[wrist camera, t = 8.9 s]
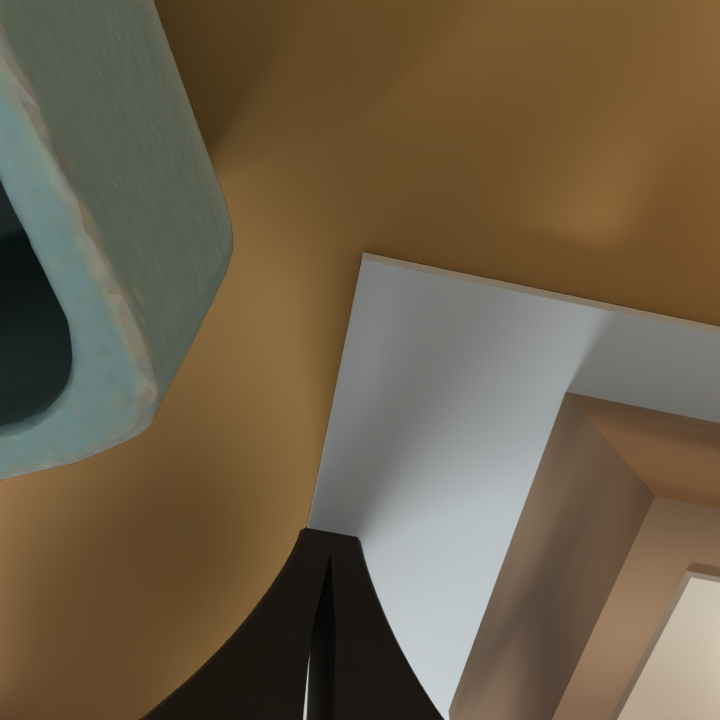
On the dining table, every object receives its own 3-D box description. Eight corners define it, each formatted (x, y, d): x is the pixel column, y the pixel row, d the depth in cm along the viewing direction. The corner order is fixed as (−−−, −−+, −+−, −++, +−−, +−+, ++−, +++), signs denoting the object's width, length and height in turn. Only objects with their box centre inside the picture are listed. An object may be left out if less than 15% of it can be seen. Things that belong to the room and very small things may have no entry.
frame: (617, 739, 16) (700, 933, 12) (448, 711, 15) (474, 898, 11) (778, 435, 12) (971, 562, 8) (565, 391, 12) (660, 501, 8)
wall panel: (702, 772, 17) (795, 941, 14) (271, 701, 17) (242, 857, 13) (948, 374, 13) (1193, 462, 9) (363, 252, 12) (359, 291, 8)
